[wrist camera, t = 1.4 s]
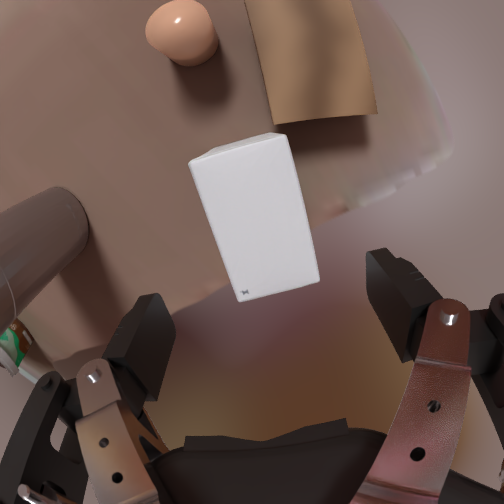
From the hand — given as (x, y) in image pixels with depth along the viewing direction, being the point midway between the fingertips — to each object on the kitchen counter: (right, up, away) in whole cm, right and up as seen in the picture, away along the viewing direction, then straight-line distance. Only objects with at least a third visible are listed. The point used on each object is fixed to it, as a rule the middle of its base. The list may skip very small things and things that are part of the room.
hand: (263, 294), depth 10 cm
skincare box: (0, +8, +17) cm, 18 cm away
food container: (-46, -12, +26) cm, 54 cm away
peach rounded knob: (-6, +21, +10) cm, 24 cm away
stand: (+4, +19, +11) cm, 23 cm away
